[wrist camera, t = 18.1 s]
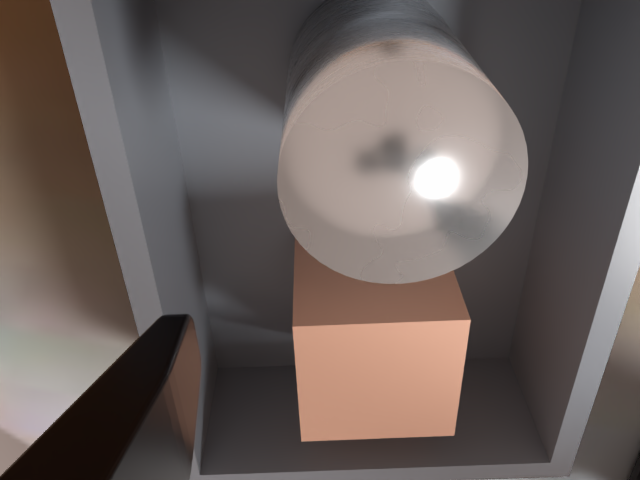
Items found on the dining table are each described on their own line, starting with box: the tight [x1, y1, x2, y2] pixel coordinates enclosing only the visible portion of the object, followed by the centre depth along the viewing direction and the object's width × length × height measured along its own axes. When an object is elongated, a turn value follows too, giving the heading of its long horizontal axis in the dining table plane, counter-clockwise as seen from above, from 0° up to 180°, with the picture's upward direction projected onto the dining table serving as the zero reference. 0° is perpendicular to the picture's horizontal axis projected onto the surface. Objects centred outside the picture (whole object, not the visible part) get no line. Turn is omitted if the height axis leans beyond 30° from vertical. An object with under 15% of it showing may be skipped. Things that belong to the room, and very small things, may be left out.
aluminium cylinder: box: [277, 0, 528, 284], centre depth 15 cm, size 5×5×7 cm
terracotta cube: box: [292, 238, 471, 442], centre depth 20 cm, size 5×5×5 cm
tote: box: [50, 0, 640, 480], centre depth 18 cm, size 18×14×6 cm
